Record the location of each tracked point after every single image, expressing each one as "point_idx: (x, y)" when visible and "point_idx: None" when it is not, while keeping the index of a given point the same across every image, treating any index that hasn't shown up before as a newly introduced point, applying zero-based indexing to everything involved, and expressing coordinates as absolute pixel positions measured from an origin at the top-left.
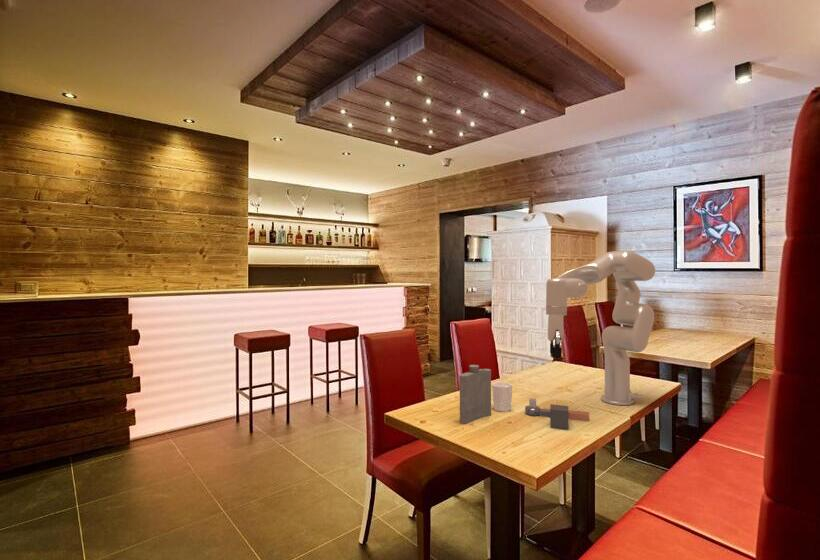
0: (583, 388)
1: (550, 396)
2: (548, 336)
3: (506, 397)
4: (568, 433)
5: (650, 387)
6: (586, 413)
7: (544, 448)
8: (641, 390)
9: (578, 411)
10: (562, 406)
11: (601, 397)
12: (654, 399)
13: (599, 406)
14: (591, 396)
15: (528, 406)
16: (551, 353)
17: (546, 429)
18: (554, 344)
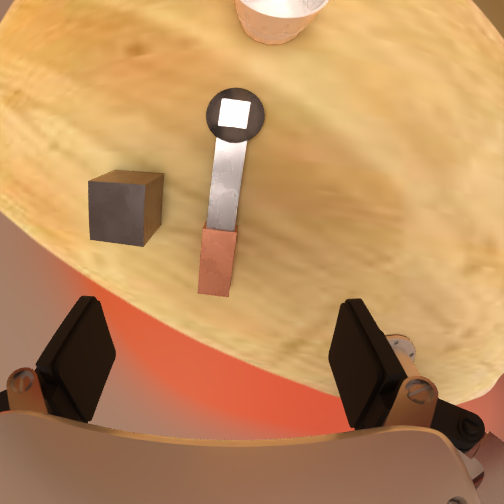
0: (476, 302)
1: (432, 205)
2: (90, 490)
3: (239, 12)
4: None
5: None
6: (212, 289)
7: (7, 162)
8: None
9: (227, 269)
10: (132, 225)
11: (393, 339)
12: None
13: None
14: (422, 316)
15: (248, 100)
16: (344, 306)
17: (101, 159)
18: (13, 399)
